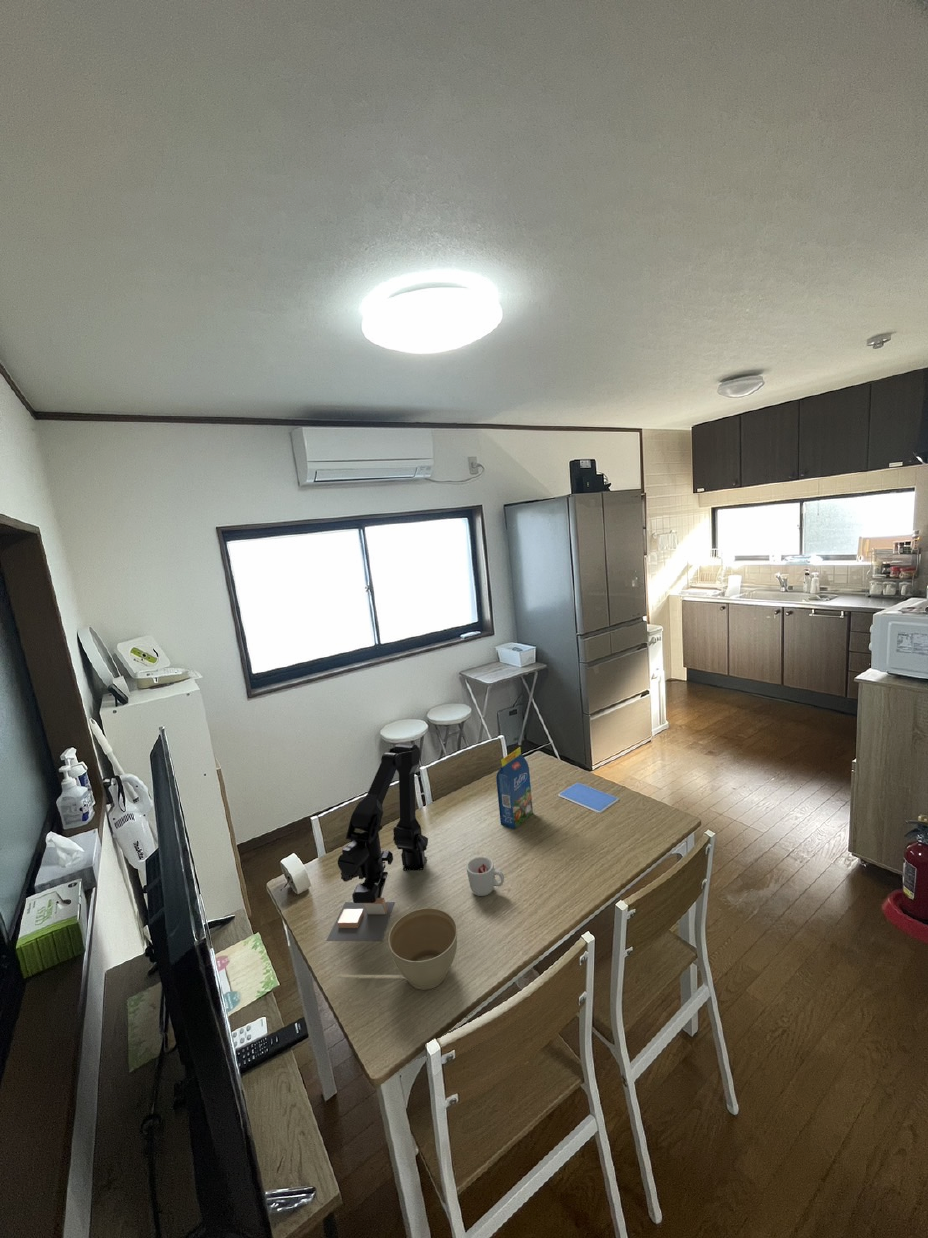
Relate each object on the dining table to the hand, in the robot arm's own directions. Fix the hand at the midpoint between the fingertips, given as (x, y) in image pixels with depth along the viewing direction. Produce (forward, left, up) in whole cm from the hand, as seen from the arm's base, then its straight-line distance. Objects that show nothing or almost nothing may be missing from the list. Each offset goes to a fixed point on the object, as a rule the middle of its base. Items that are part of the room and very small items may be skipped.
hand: (377, 902), depth 141 cm
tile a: (0, +1, -2) cm, 2 cm away
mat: (+3, +4, -3) cm, 6 cm away
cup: (-30, -8, -3) cm, 31 cm away
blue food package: (-38, -45, -3) cm, 59 cm away
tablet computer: (-65, -58, -4) cm, 87 cm away
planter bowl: (-18, +20, -3) cm, 27 cm away
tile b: (+6, +2, -1) cm, 7 cm away
